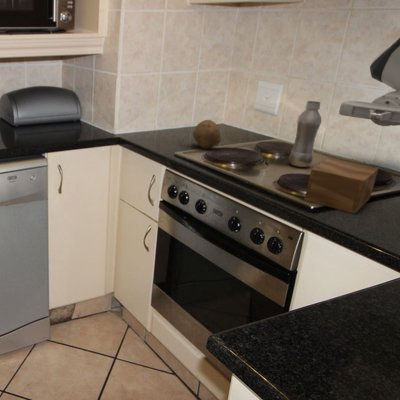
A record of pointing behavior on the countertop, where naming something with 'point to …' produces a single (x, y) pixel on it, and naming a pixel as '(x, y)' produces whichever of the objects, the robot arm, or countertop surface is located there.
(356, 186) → the wooden block
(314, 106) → the plastic bottle
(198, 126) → the brown coconut
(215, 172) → the countertop surface
